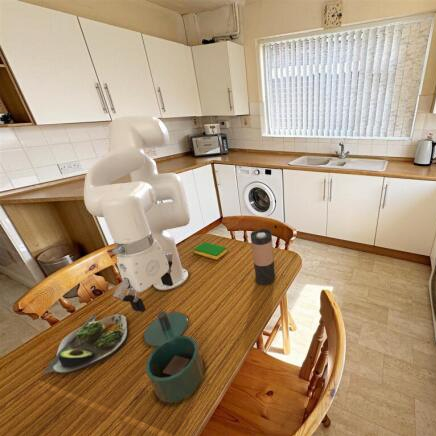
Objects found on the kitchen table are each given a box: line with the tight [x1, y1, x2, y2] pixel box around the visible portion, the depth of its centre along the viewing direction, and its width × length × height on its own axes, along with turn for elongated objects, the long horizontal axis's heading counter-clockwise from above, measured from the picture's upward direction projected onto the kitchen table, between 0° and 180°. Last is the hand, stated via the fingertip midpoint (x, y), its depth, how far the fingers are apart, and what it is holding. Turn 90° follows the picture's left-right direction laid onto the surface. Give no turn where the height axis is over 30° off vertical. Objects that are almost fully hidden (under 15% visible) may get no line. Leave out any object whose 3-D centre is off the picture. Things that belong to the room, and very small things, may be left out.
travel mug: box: [250, 228, 276, 285], centre depth 89 cm, size 8×8×20 cm
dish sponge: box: [193, 241, 228, 261], centre depth 111 cm, size 7×14×2 cm, turn 64°
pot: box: [145, 335, 205, 404], centre depth 57 cm, size 11×11×8 cm
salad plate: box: [43, 314, 129, 375], centre depth 69 cm, size 19×18×5 cm
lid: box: [143, 310, 189, 348], centre depth 71 cm, size 12×12×7 cm
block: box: [162, 355, 191, 378], centre depth 58 cm, size 4×4×4 cm
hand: (155, 296), depth 64 cm, fingers open, 9 cm apart
